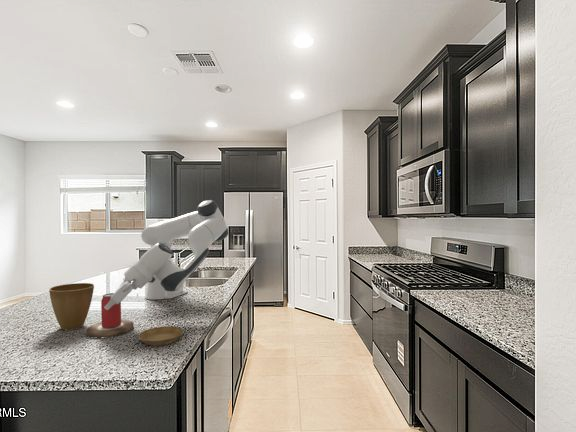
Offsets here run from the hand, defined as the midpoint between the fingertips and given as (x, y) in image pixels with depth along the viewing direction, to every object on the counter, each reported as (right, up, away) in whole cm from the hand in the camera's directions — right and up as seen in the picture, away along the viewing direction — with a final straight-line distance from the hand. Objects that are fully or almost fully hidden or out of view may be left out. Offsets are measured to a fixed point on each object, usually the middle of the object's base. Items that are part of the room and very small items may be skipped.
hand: (108, 305), depth 126 cm
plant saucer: (+24, -10, -10) cm, 28 cm away
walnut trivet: (+1, -10, 0) cm, 10 cm away
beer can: (+1, -8, 0) cm, 8 cm away
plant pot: (-16, -10, +5) cm, 20 cm away
